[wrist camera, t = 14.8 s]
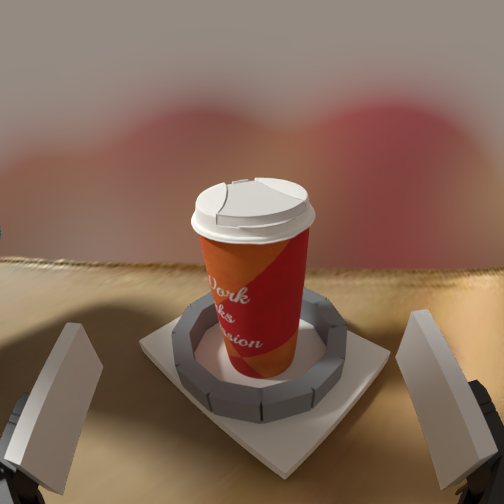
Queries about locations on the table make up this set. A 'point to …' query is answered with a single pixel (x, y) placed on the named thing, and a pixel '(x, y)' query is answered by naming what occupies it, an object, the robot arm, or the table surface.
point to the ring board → (270, 380)
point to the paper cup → (256, 268)
